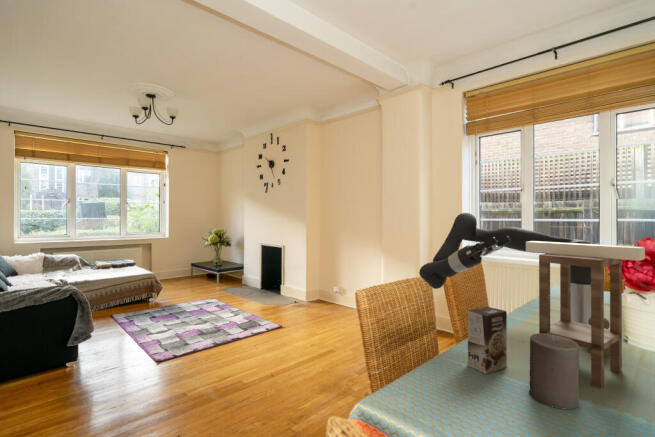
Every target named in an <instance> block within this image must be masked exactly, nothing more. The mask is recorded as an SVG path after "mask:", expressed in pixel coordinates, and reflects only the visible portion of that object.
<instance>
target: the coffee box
mask: <svg viewBox="0 0 655 437" xmlns="http://www.w3.org/2000/svg"><path fill="white" fill-rule="evenodd" d="M507 313H508V312H507V310H504V309H500V308H495V307H490V306H485V307H479V308H478V307H477V308H473V309H469V310H467V366H469V367H471V368H472V369H474V370H477V371H479V372H481V373H484V374H485V375H487V374H490V373H493V372H495V371H498V370H502V369H505V368H507V367H508V363H507V362H508V361H507V360H508V359H507V358H508V357H507V356H508V353H507V352H508V344H507V341H508V340H507V339H508V338H507V335H508V334H507V332H508V328H507V327H508V326H507V325H508V324H507V322H508V320H507V319H508V318H507V316H508V315H507Z"/></svg>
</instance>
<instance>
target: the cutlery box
mask: <svg viewBox="0 0 655 437" xmlns="http://www.w3.org/2000/svg"><path fill="white" fill-rule="evenodd" d="M526 252H527V253H532V252H538V253H537V254H545V253H550V254H563V255H575V256H588V257H600V258H612V259H622V260H627V261H639V262H640V261H643V260H645V259H646V248H645V246H632V245H631V246H630V245H629V246H628V245H611V244H595V243H593V244H592V243H591V244H579V243H561V242H542V241H528V242H526ZM526 252H525V253H526Z"/></svg>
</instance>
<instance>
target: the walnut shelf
mask: <svg viewBox="0 0 655 437" xmlns="http://www.w3.org/2000/svg"><path fill="white" fill-rule="evenodd" d="M622 262H623V259H612V258H600V257H588V256H575V255H563V254H550V253H547V254H545V253H540V254H539V255H538V265H539V266H538V295H539V296H538V301H539V302H538V304H539V305H538V306H539V308H538V309H539V311H538V312H539V313H538V318H539V319H538V320H539V321H538V322H539V324H538V325H539V326H538V329H539V331H538V334H540V333H543V334H552V335H558V336H562V337H565V338H569V339H571V340H573V341H574V342H576V343H577V344H578V345H579V347H581V348H585V349H587V348H589V349H591V353H590V360H591V361H590V363H591V364H590V372H591V374H590V377H591V378H590V381H591V382H590V383H591V384H590V386H592V387H595V388H598V389H599V390H600V389H603V388H604V387H605V357H604V349H606V348H607V347H609V346H610V356H609V370H610V371H612V372H615V373H618V374H620V373H621V372H623V371H622V369H623V356H622V355H623V343H622V341H623V339H622V338H623V336H622V335H623V333H622V332H623V329H622V328H623V325H622V322H623V313H622V312H623V311H622V310H623V309H622V308H623V307H622V306H623V301H622V300H623V297H622V296H623V294H622V293H623V290H622V289H623V287H622V286H623V279H622V278H623V277H622V276H623V274H622V273H623V272H622V271H623V269H622V268H623V266H622V264H623V263H622ZM551 264H555V265H559V266H560V267H559V273H560V274H559V276H560V277H559V278H560V279H559V280H560V282H559V286H560V288H559V289H560V291H559V292H560V293H559V294H560V295H559V297H560V300H559V304H560V305H559V306H560V307H559V308H560V316H559V318H560V319H559V321H556V322H554V323H551ZM571 265H574V266H584V267H591V325H587V324H582V323H578V322H573V321H571ZM607 267H609V323H610V326H609V328H608V329H605V328H604V318H605V308H604V307H605V304H604V303H605V300H604V299H605V294H604V292H605V283H604V282H605V275H604V274H605V268H607Z"/></svg>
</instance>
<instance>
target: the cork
mask: <svg viewBox="0 0 655 437" xmlns="http://www.w3.org/2000/svg"><path fill="white" fill-rule="evenodd" d="M588 323H589V325H591V317H590V318H589V320H588ZM604 328H605V329H610V320H608V319H607V318H605V317H604ZM586 351H587V353H589V354H591V349H589V348H586ZM605 357H606V358H607V357H608V358H609V357H610V346H609V347H607V348H606V349H604V358H605Z"/></svg>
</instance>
